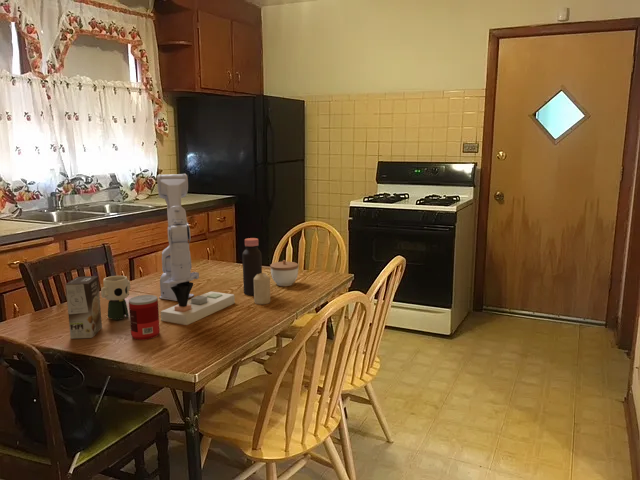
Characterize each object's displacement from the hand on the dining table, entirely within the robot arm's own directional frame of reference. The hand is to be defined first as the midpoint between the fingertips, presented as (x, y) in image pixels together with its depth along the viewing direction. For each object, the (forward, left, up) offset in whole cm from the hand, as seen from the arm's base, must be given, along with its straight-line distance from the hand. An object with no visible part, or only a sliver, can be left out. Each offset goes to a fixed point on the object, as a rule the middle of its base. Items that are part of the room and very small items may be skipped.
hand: (182, 305), depth 174 cm
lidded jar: (+8, +50, -4) cm, 50 cm away
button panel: (0, +8, -4) cm, 9 cm away
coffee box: (-17, -22, -4) cm, 29 cm away
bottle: (+4, +34, -4) cm, 34 cm away
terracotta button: (0, 0, -3) cm, 3 cm away
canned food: (0, -16, -4) cm, 17 cm away
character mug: (-19, -8, -4) cm, 21 cm away
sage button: (0, +16, -3) cm, 16 cm away
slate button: (0, +8, -2) cm, 8 cm away
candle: (+13, +26, -4) cm, 29 cm away
